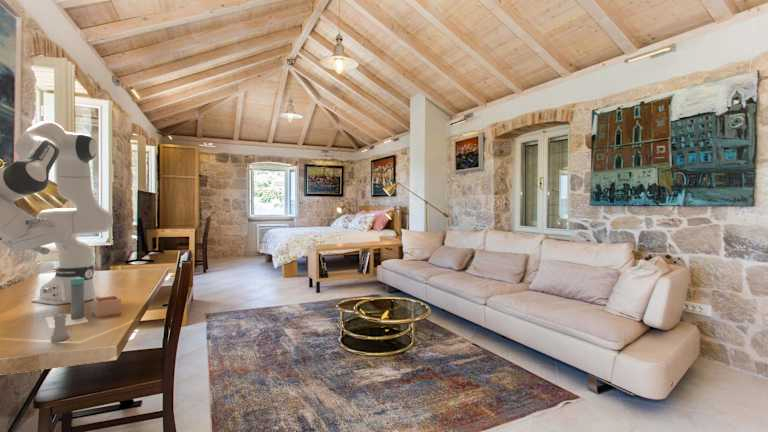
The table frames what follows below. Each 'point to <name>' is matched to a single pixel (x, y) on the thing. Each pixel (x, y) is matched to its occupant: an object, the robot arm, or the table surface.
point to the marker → (77, 298)
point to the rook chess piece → (59, 328)
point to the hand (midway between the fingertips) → (58, 249)
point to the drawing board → (68, 321)
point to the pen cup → (106, 306)
